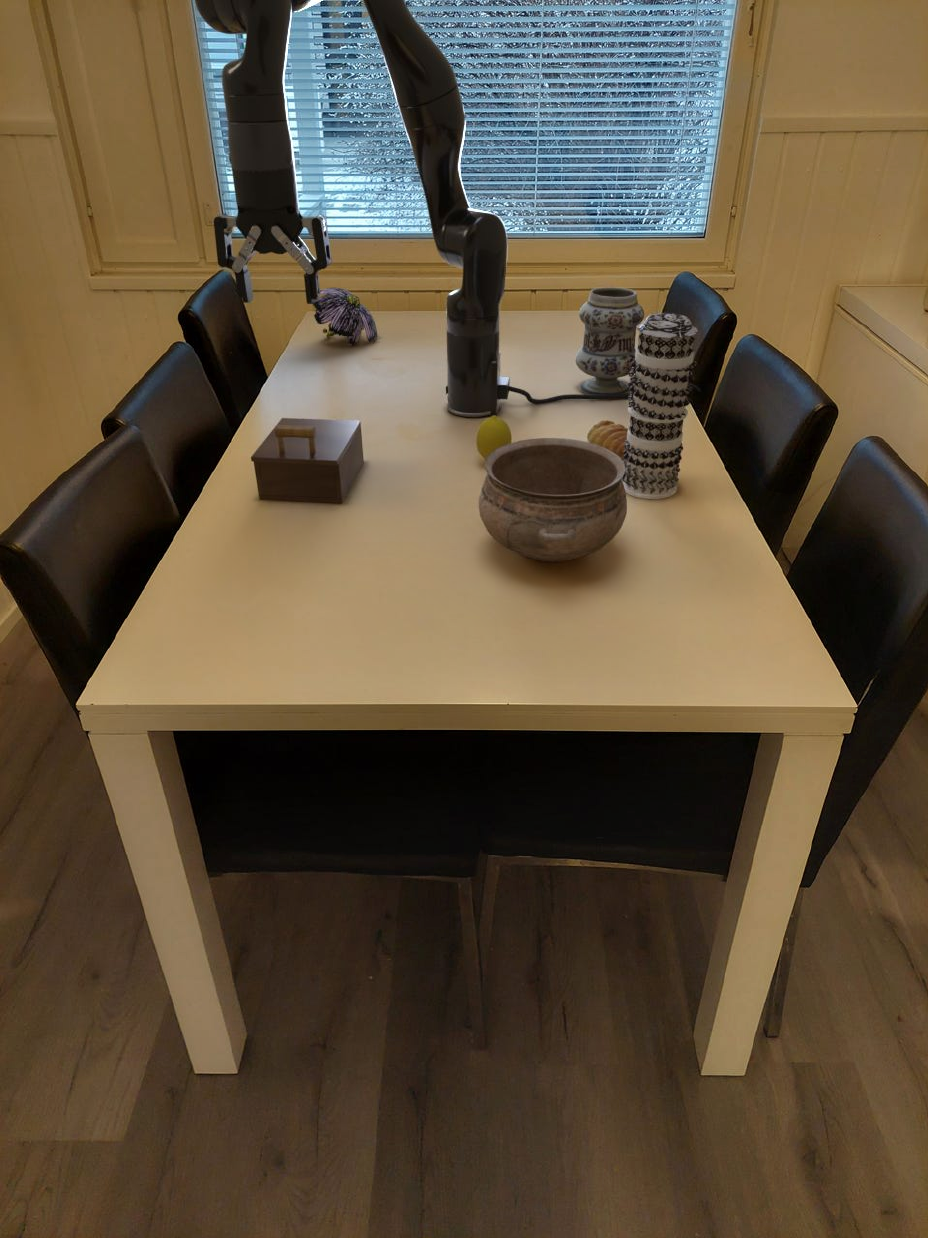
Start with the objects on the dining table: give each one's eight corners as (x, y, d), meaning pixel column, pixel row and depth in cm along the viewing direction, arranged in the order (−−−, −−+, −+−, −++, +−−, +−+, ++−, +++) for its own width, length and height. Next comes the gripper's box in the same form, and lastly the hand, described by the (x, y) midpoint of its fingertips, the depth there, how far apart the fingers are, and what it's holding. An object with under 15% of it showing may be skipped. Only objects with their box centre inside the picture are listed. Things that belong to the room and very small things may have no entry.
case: (342, 503, 129) (338, 463, 125) (259, 499, 130) (253, 459, 126) (363, 462, 141) (361, 425, 137) (287, 459, 142) (282, 422, 138)
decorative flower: (348, 306, 182) (306, 273, 189) (330, 358, 188) (290, 324, 195) (397, 312, 193) (356, 281, 200) (379, 361, 199) (340, 329, 206)
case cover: (337, 465, 124) (334, 433, 122) (251, 461, 126) (246, 430, 123) (361, 424, 137) (358, 395, 135) (282, 421, 138) (278, 392, 136)
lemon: (515, 459, 141) (516, 411, 137) (505, 473, 137) (506, 424, 133) (482, 455, 143) (482, 407, 138) (471, 468, 139) (471, 419, 134)
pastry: (648, 457, 142) (651, 434, 139) (613, 465, 139) (615, 442, 137) (615, 437, 149) (617, 415, 146) (581, 444, 146) (583, 422, 144)
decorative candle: (666, 505, 127) (690, 330, 113) (607, 491, 131) (623, 320, 117) (688, 482, 134) (713, 314, 120) (632, 469, 138) (649, 305, 124)
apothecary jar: (635, 379, 173) (644, 283, 163) (639, 400, 163) (649, 300, 153) (573, 377, 174) (579, 282, 164) (573, 398, 164) (580, 299, 154)
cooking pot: (482, 506, 127) (482, 426, 121) (613, 509, 127) (621, 428, 120) (474, 599, 107) (474, 508, 100) (631, 603, 106) (642, 511, 99)
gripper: (328, 159, 108) (339, 296, 117) (217, 158, 110) (236, 293, 119) (312, 167, 102) (325, 311, 111) (194, 166, 103) (217, 308, 113)
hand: (279, 301), depth 115 cm, fingers open, 8 cm apart
